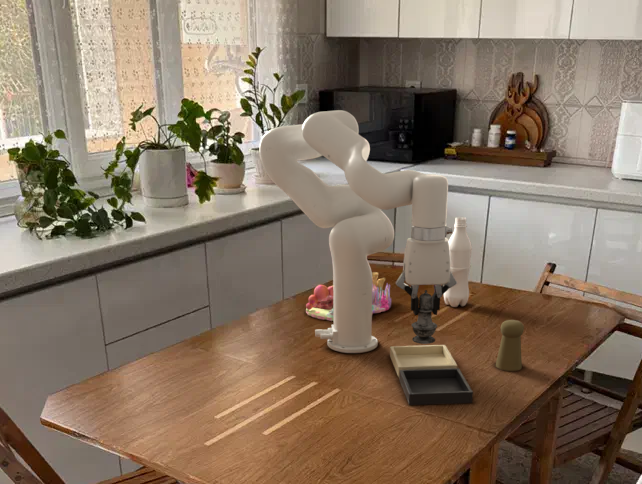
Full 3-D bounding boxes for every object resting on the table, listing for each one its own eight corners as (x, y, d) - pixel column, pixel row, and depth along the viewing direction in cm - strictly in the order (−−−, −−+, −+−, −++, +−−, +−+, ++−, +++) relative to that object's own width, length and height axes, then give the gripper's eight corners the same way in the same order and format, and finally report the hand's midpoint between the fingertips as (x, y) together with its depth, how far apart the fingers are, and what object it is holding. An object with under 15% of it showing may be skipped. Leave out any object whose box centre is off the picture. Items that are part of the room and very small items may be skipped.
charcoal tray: (408, 405, 163) (409, 394, 162) (399, 380, 175) (399, 369, 174) (472, 403, 164) (473, 392, 163) (458, 378, 176) (458, 368, 175)
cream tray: (398, 377, 177) (398, 367, 176) (389, 356, 189) (390, 346, 188) (456, 375, 177) (457, 365, 176) (444, 354, 190) (445, 344, 189)
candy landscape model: (315, 293, 237) (315, 264, 233) (393, 296, 234) (394, 266, 230) (301, 320, 214) (300, 287, 210) (387, 323, 211) (388, 290, 207)
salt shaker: (435, 345, 177) (438, 294, 173) (409, 343, 178) (411, 292, 174) (437, 336, 183) (440, 286, 178) (412, 334, 184) (414, 285, 179)
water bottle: (469, 308, 223) (475, 220, 213) (444, 308, 223) (449, 220, 213) (466, 300, 230) (471, 215, 220) (441, 300, 230) (446, 215, 220)
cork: (524, 363, 184) (528, 319, 180) (518, 372, 179) (523, 327, 174) (498, 359, 186) (502, 315, 182) (492, 368, 181) (496, 323, 177)
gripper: (462, 228, 175) (457, 307, 182) (388, 230, 174) (386, 309, 181) (469, 236, 168) (464, 317, 175) (393, 237, 167) (391, 319, 174)
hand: (424, 312), depth 178 cm, fingers closed on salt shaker, 3 cm apart
